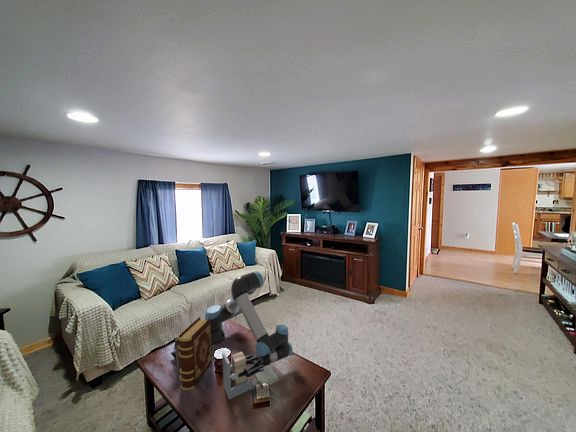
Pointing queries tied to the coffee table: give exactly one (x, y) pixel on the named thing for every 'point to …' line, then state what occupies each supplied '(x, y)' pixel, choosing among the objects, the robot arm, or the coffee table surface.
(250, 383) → the slot rack
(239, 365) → the block
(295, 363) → the coffee table surface
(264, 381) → the sage tile
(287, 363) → the coffee table surface
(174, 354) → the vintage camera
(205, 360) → the decorative book
